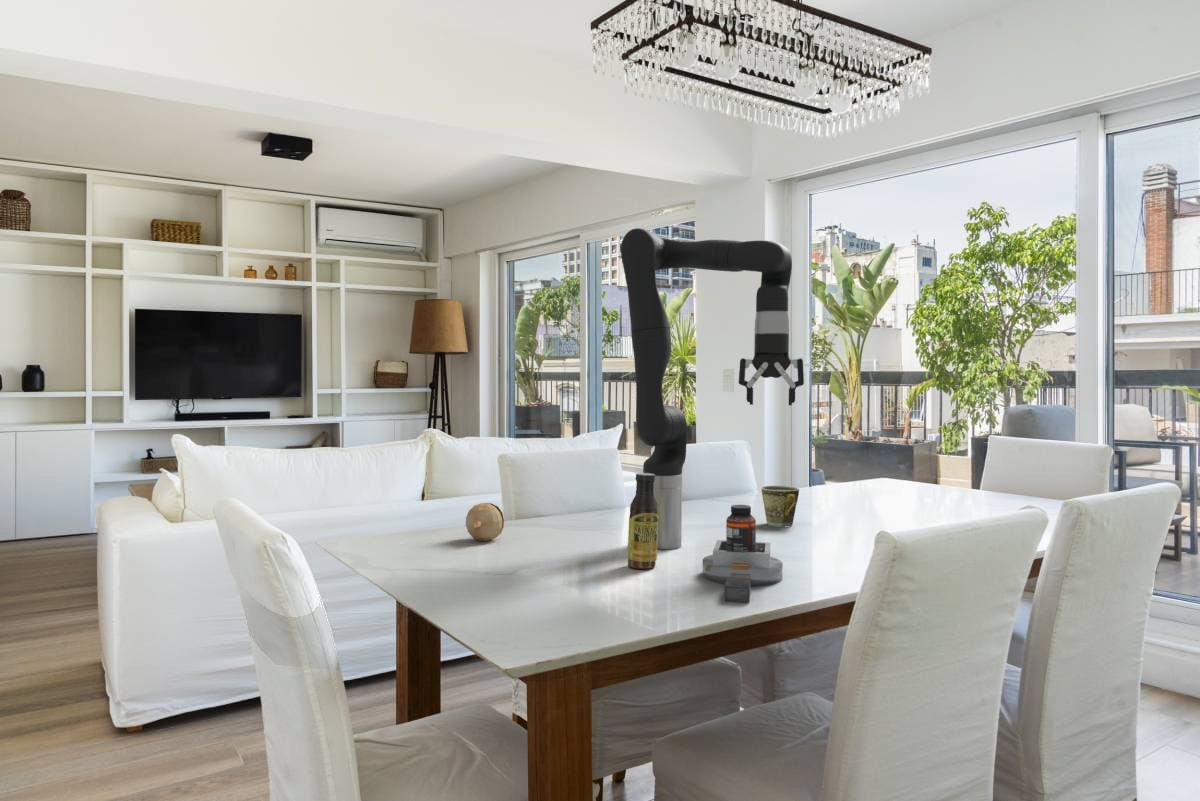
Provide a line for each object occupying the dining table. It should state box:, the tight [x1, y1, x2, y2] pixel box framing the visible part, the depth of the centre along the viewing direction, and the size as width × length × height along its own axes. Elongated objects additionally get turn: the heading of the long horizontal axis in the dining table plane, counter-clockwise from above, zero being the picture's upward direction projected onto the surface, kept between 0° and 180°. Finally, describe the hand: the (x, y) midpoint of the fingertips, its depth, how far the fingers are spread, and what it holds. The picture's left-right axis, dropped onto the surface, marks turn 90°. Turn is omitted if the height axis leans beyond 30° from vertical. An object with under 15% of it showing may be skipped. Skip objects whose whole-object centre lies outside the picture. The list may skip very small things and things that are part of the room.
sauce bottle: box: [627, 472, 658, 570], centre depth 176 cm, size 7×6×20 cm
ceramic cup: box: [761, 485, 800, 528], centre depth 224 cm, size 13×10×10 cm
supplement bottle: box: [725, 504, 757, 552], centre depth 169 cm, size 6×6×11 cm
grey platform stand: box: [702, 539, 784, 604], centre depth 163 cm, size 16×28×6 cm, turn 168°
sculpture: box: [465, 502, 505, 542], centre depth 202 cm, size 9×9×15 cm
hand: (770, 404), depth 186 cm, fingers open, 8 cm apart
